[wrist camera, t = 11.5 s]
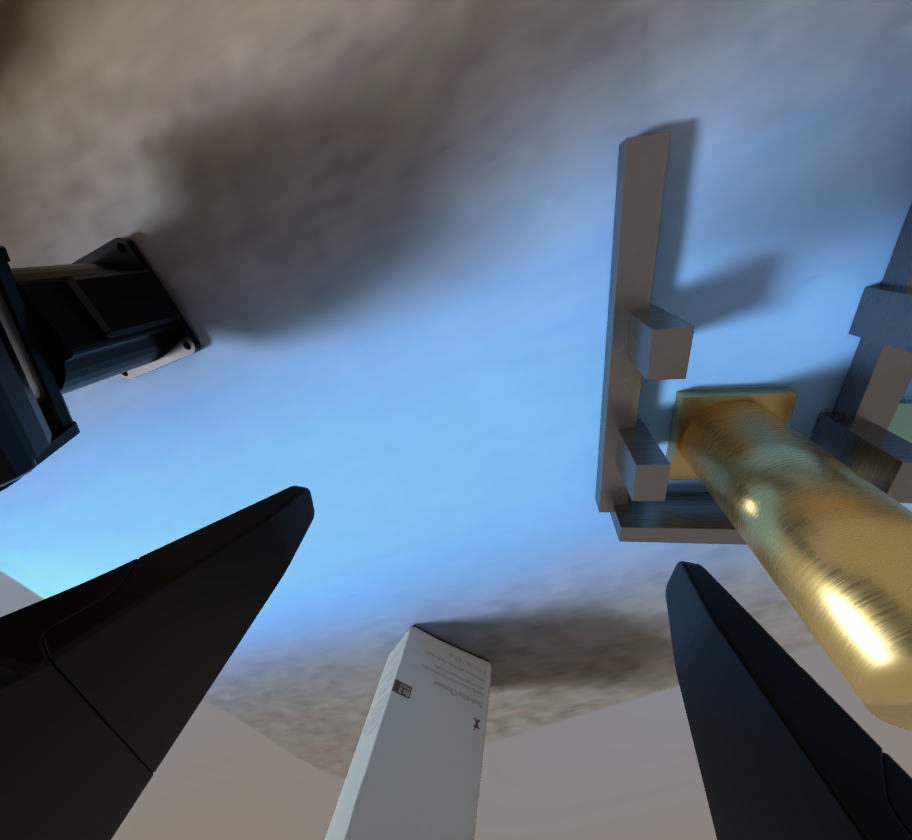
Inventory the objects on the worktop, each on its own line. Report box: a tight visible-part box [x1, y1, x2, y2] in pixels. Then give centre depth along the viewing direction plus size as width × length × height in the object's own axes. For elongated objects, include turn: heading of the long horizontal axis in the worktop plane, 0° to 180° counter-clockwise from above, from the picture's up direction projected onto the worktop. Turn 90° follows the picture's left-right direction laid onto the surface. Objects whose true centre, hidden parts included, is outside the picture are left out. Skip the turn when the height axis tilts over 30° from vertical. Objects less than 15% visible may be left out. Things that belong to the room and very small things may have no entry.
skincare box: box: [325, 627, 492, 840], centre depth 26 cm, size 8×6×15 cm
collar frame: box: [596, 131, 912, 545], centre depth 16 cm, size 16×18×4 cm
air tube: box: [666, 387, 912, 731], centre depth 14 cm, size 5×5×12 cm
